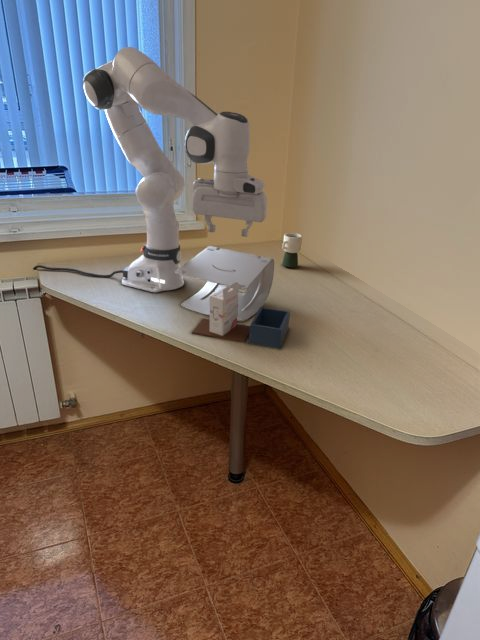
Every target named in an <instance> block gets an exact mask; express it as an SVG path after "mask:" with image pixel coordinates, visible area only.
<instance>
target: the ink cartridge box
mask: <svg viewBox="0 0 480 640" xmlns="http://www.w3.org/2000/svg"><path fill="white" fill-rule="evenodd" d="M239 292H240V291H239V289H238V281H236V282H235V283H233V284H231V285H229V286H227V287H225V288H223V289H221V290H219V291H218V292H216V293H214V294H212V295H210V316H209V319H210V332H212V333H215V334H218V335H221V336H223V335H225V334H226V333H227V332H229V331H230V330H232V329H233V328H234V327H236V326H237V324H238V322H237V317H238V294H239Z"/></svg>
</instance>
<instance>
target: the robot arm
mask: <svg viewBox="0 0 480 640" xmlns="http://www.w3.org/2000/svg"><path fill="white" fill-rule="evenodd" d="M82 88H83V91H84V95H85V97H86V99H87V100H88V102H89V104H90V105H91V106H92V108H95V109H96V110H98V111H104V112H105V115H106V118H107V121H108V124H109V126H110V129H111V131H112V133H113V136H114V137H115V139H116V141H117V143H118V145H119V146H120V149H121V150H122V153H123V154H124V157H125V158H126V160H127V161H128V163H129V164H130V165H131V166H132V167H134V168H135V169H136V170H137V171H138V172H139V173H140V175H141V176H142V179H141V180H140V181H139V183H138V184H137V186H136V188H135V197H136V200H137V203H138V204H139V205H140V206H141V208H142V213H143V216H144V221H145V228H146V243H145V244H144V245H143V246H142V247H141V248H140V252H141V253H143V254H142V255H140V256H138V257H137V258H136V259H135V260H134V261H132V262H130V264H129V265H127V266H125V268H124V269H119V270H115V271H113V272H111V273H109V274H97V273H92V272H87V271H83V270H80V269H75V268H70V267H69V268H68V267H51V266H47V265H46V266H45V265H42V264H39V265H38V264H37V265H35V266H34V267H33V268H32V270H37V269H38V268H40V269H44V270H48V271H68V272H75V273H79V274H82V275H86V276H91V277H96V278H113V276H114V275H116V274H122V279H121V285H123V286H126V287H132V288H135V289H139V290H142V291H146V292H150V293H160V292H165V291H173V290H177V289H179V288H182V287H183V286H184V285H185V281H184V278H183V275H180V274H177V273H175V271H176V270H177V269H179V268H180V267H181V260H182V259H181V258H182V252H181V245H180V226H179V222H178V219H177V217H176V213H175V212H176V211H175V208H174V203H175V201H176V200H178V199H179V198H180V197H182V194H183V193H184V192H183V191H185V185H186V184H185V183H186V182H185V178H184V175H183V174H182V172H180V171H179V170H177V169H176V168H175V166H174V165H173V164H172V162H171V161H170V160H169V158H168V156H167V155H166V154H165V152H164V151H163V150H162V148H161V147H160V145H159V142H157V139H156V137H155V136H154V134H153V132H152V129H151V127H150V126H149V124H148V121H147V120H146V118H145V116H144V114H143V113H142V111H141V109H140V108H142V110H145V111H146V112H148V113H150V114H152V115H158V116H166V117H173V118H179V119H182V120H184V121H186V122H189V123H190V124H191V125H193V126H191V127H190V128H189V129H188V130H187V132H186V134H185V137H184V150H185V153H186V155H187V157H188V159H189V160H190V161H191V162H193V163H195V164H198V165H209V164H212V165H213V166H214V167H213V179H207V178H198V179H196V180H195V181H194V182H193V183H192V192H193V198H192V207H191V210H192V212H193V214H194V215H199V216H204V221H205V223H206V225H207V228H208V233H215V232H216V224H213V221H212V220H211V219H212V218H214V217H215V218H221V219H231V220H239V221H245V225H246V227H245V228H242V229H241V235H240V236H241V237H245V238H247V237H248V236H249V230H250V228H251V227H252V226H253V224H254V222H255V223H262V222H264V221H265V220H266V218H267V215H268V199H267V195H266V193H265V192H264V190H265V187H266V184H265V182H264V181H263V180H260V179H258V178H256V177H254V176H252V175H250V174H249V166H248V165H249V164H248V159H249V155H250V150H251V149H250V148H251V128H250V123H249V122H250V121H249V120H248V118H247V117H246V116H245V115H243V114H241V113H238V112H233V111H220V112H219V113H217V112H215V111H214V110H213V109H212V108H211V107H209V106H208V105H207V104H206V103H205V102H203V101H202V100H201V99H199V97H198V96H196V95H194V94H193V93H191V91H189V90H188V89H186V88H185V87H184V86H183V85H181V84H180V83H178V82H177V81H176V80H175V79H174V78H172V77H171V76H170V75H169V74H168V73H167V72H165V70H164V69H162V67H160V65H158V63H156V62H155V61H154V60H153V59H152V58H151V57H150V56H148V55H147V54H145V53H144V52H142V51H141V50H139V49H137V48H135V47H133V46H125V47H123V48H121V49H119V50H118V51H117V53H116V54H115V55H114V58H113V59H111V60H110V61H109V62H106V63H104V64H102V65H100V66H99V67H97V68H93V69H91V70H89V71H88V72H87V73H86V74H85V75H84V76H83V79H82Z"/></svg>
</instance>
